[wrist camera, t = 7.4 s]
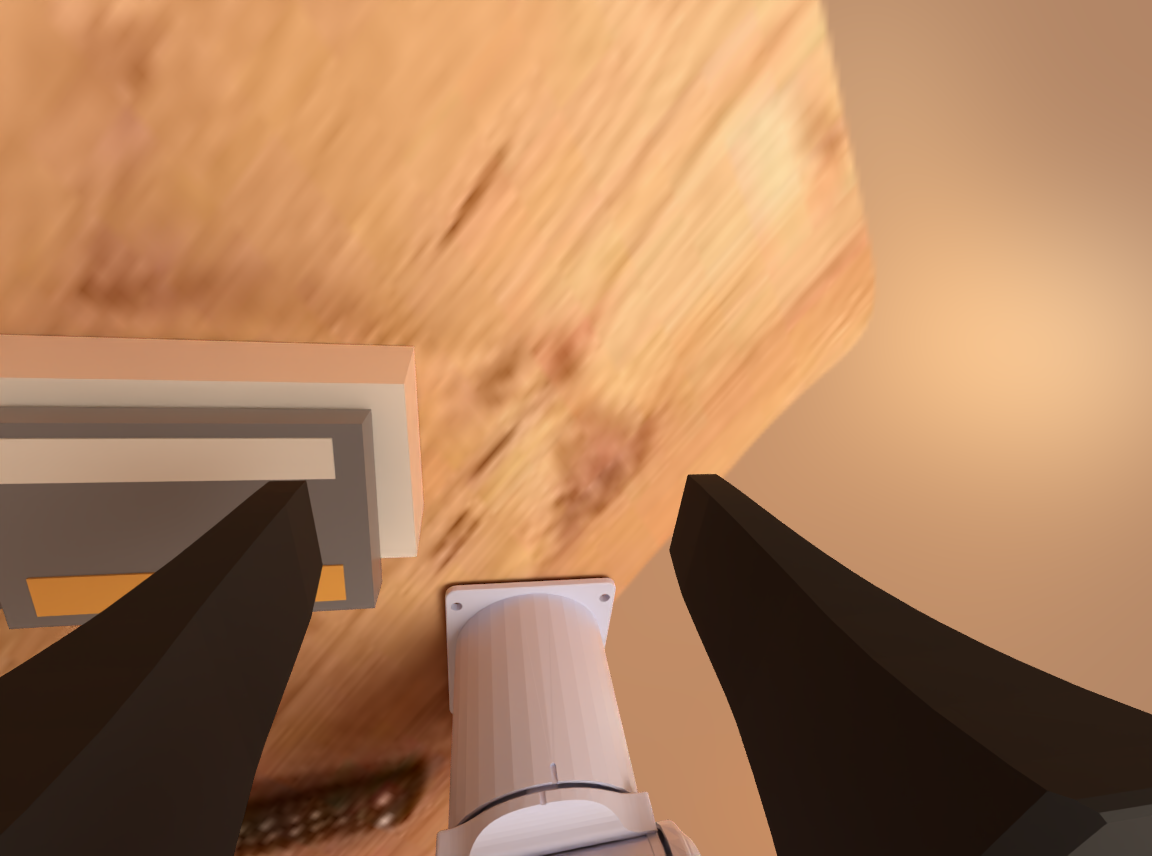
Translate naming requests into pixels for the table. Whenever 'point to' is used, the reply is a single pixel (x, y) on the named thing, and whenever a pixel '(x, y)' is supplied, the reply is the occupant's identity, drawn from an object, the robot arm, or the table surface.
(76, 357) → the power strip
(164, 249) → the table surface
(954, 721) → the robot arm
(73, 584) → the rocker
